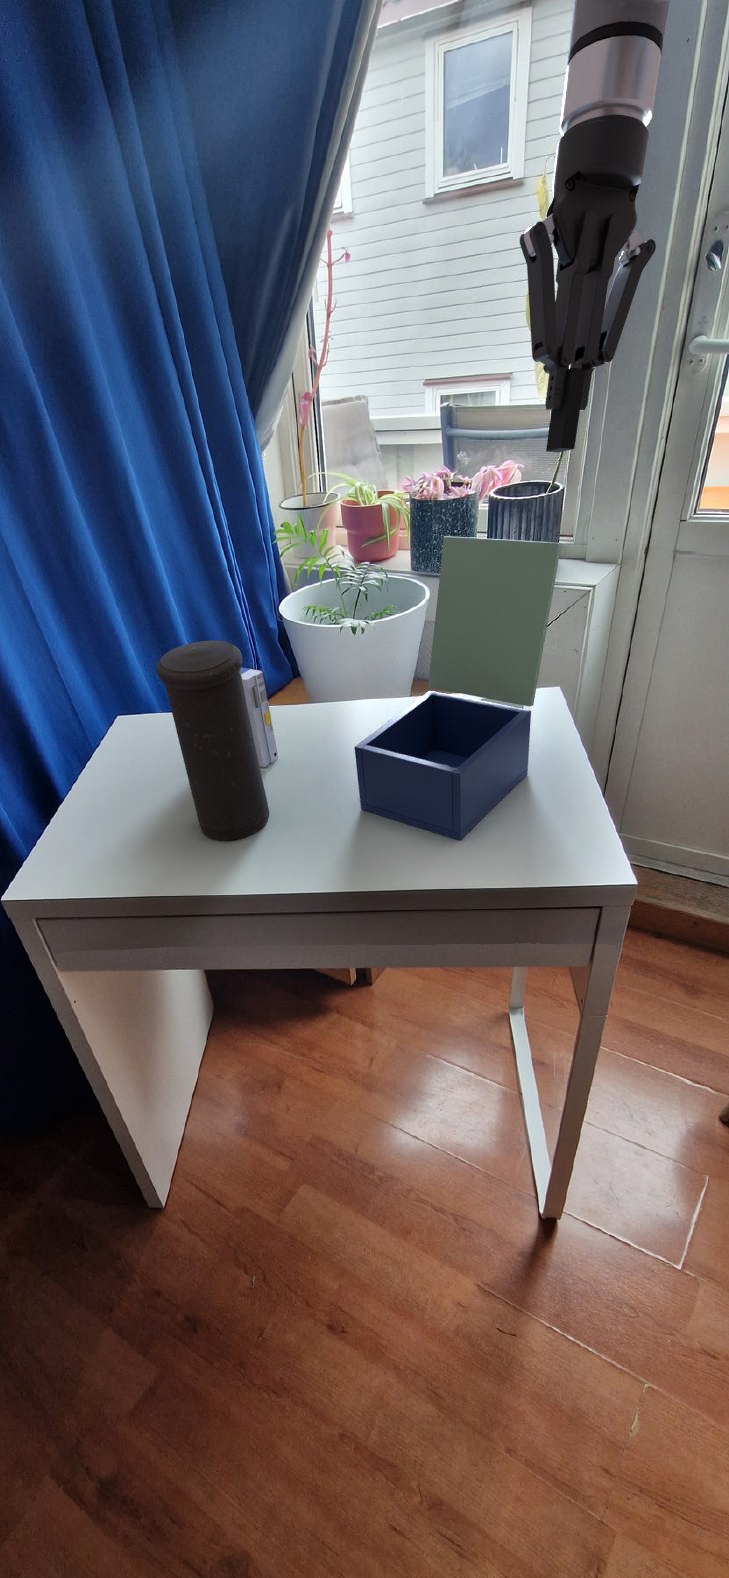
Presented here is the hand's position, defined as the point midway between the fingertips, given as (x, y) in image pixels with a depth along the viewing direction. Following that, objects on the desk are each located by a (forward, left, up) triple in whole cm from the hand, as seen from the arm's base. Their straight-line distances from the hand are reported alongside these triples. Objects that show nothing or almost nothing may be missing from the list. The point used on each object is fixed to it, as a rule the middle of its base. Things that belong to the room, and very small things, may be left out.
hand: (560, 450), depth 75 cm
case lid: (+2, +9, -14) cm, 17 cm away
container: (+21, +35, -30) cm, 50 cm away
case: (+3, +19, -30) cm, 35 cm away
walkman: (+30, +23, -30) cm, 48 cm away
